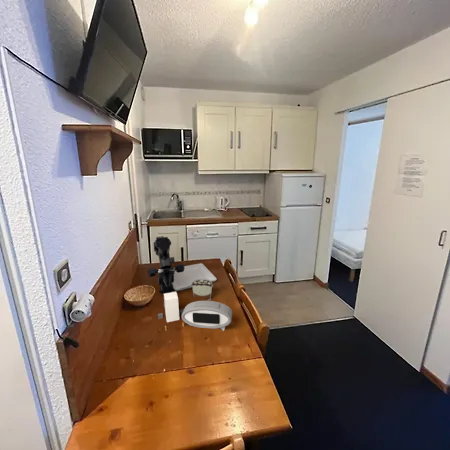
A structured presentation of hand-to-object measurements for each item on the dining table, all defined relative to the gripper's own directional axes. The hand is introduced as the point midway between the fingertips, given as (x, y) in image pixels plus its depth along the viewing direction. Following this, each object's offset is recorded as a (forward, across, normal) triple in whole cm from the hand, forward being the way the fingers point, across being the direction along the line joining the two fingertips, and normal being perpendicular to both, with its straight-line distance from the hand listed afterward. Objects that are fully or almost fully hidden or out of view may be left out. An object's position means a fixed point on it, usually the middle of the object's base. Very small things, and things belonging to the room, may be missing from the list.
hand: (168, 285), depth 130 cm
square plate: (-10, +16, +30) cm, 35 cm away
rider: (+16, 0, +1) cm, 16 cm away
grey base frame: (+15, 0, +3) cm, 16 cm away
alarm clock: (+24, +15, -5) cm, 29 cm away
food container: (+6, +20, +13) cm, 24 cm away
